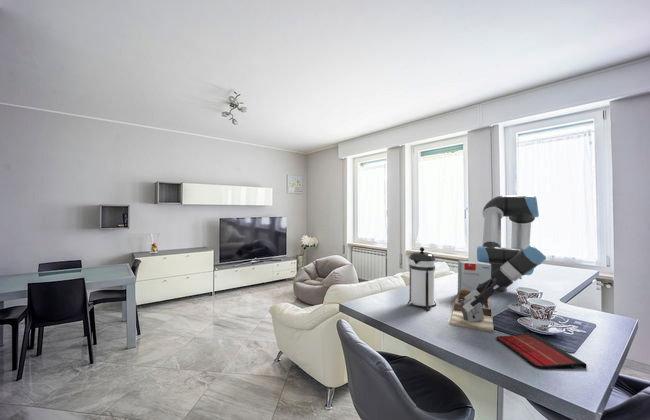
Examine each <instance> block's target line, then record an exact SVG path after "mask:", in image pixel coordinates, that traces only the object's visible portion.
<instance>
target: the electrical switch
mask: <svg viewBox="0 0 650 420" xmlns="http://www.w3.org/2000/svg"><path fill="white" fill-rule="evenodd" d="M472 299H473V298H471V299H466V300H460V301H459V304H461V309H462V313H463V317H464V320H468V321H469V322H475V321H479V320H483V319H484V314H483V310H482V307H483V306H482V303H480V304H478V305H477V306H476V307H474V308H473V309H471V310H470V311H469V312H467V311H466V310H465V309H464V308H463V306H464V305H465V304H466V303H468V302H469V301H471V300H472ZM464 310H465V311H464Z"/></svg>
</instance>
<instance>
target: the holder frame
mask: <svg viewBox="0 0 650 420" xmlns="http://www.w3.org/2000/svg"><path fill="white" fill-rule="evenodd" d="M467 295H468V294H466V293H459V292H458V291H457V293H456V298H455V300H454V310H455V311H461V312H462V309H461V304H460V301H464V300H466V299H465V298H464V297H466V296H467ZM483 304H486V305H487V307H484V306H482V310H483V314H484V315H485V316H491V317H492V303H491V296H490V297H489V298H488V299H487V300H486V301H485V302H484V303H483ZM464 311H465V310H464Z"/></svg>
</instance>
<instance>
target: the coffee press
mask: <svg viewBox="0 0 650 420" xmlns="http://www.w3.org/2000/svg"><path fill="white" fill-rule="evenodd" d="M408 259H409V264H408V267H409V300H408V301H407V303H406V305H407V306H408V307H411V306H413V305H416V306H420V307H424V309H425V311H430V306H434V307H436V306H437V302H435V270H436V266H435V262H436V257H435V255H434V254H433V253H430V252H426V251H425V248H424V247H420V248H419V251H414V252H413V251H412V252H411V254H410V255H409V256H408Z"/></svg>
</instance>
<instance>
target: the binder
mask: <svg viewBox="0 0 650 420" xmlns="http://www.w3.org/2000/svg"><path fill="white" fill-rule="evenodd" d="M495 340H496V341H497V342H499V343H500V344H503V345H504V346H506V347H507V348H508V349H510V350H511V351H513V352H514V353H516V354H517V355H518V356H520V357H521V358H523V359H524V360H525V361H526V362H527V363H528V364H529V365H531V367H534V368H535V369H541V370H551V369H552V370H576V369H577V368H576V367H573V366H580V367H582V368H584V369H587V366H588V365H587V363H585V362H584V361H582V360H581V359H579V358H577V357H575V356H573V355H571V354H570V353H568V352H566V351H565V350H563V349H561V348H560V347H558V346H557V345H555V344H552V343H551V342H549V341H548V340H545V339H543V338H542V337H540V336H539V335H536V334H535V332H532V333H521V334H511V335H501V336H500V335H498V336H496V337H495Z"/></svg>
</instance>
